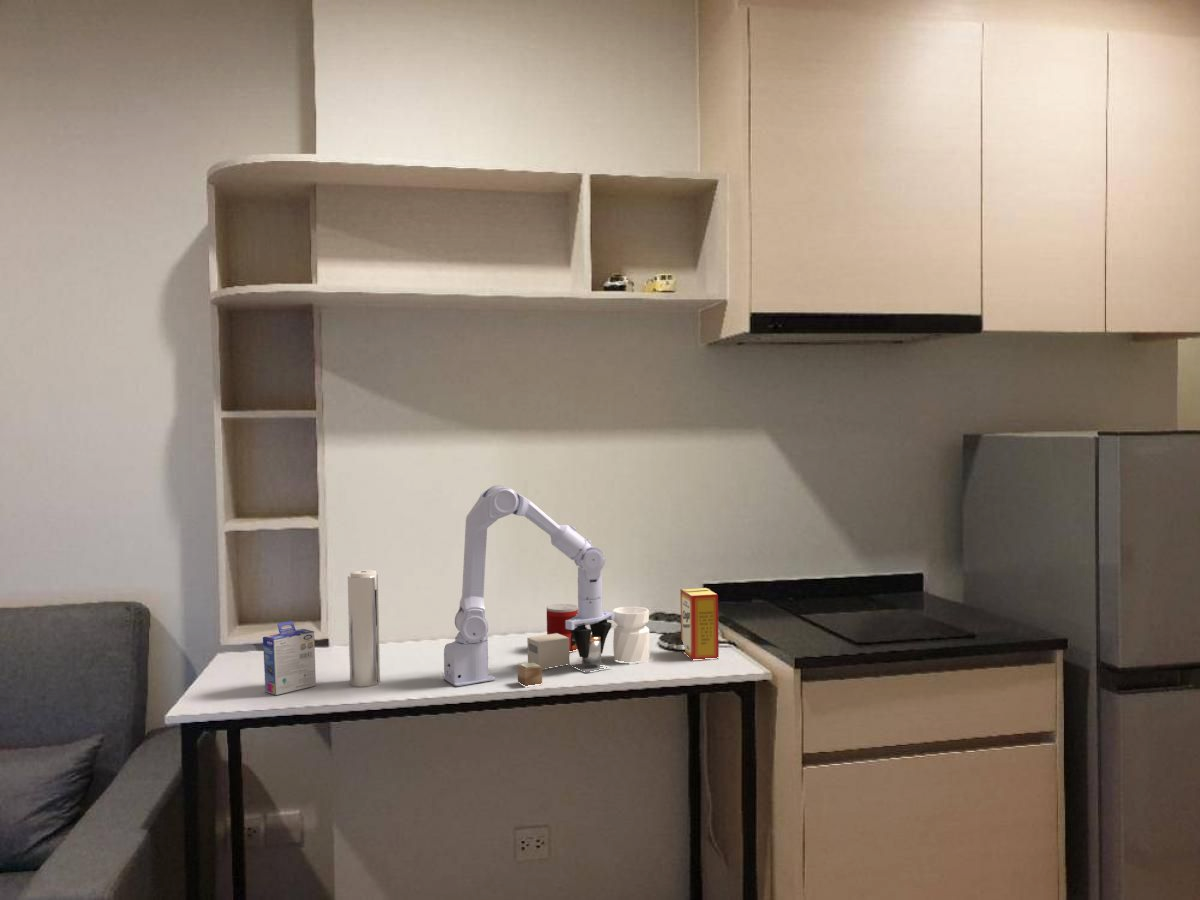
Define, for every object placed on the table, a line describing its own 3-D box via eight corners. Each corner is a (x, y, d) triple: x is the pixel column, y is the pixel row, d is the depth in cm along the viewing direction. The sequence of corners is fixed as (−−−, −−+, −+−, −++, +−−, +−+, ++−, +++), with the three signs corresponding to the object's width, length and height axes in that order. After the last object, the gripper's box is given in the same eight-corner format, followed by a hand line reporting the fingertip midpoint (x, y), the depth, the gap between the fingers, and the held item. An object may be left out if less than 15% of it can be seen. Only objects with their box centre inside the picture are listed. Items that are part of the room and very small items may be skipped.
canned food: (578, 653, 222) (577, 609, 222) (546, 653, 222) (545, 610, 222) (578, 645, 230) (578, 603, 230) (547, 646, 230) (547, 604, 230)
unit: (538, 670, 207) (538, 642, 207) (527, 664, 212) (526, 637, 212) (570, 665, 211) (570, 637, 211) (558, 659, 216) (558, 633, 216)
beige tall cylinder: (368, 677, 203) (366, 568, 203) (386, 682, 199) (383, 570, 199) (344, 683, 198) (341, 571, 198) (361, 688, 194) (359, 574, 193)
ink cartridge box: (304, 681, 201) (303, 617, 200) (317, 686, 197) (316, 620, 197) (262, 691, 193) (261, 625, 193) (275, 696, 190) (274, 628, 189)
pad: (586, 673, 203) (585, 671, 203) (570, 666, 209) (570, 665, 209) (611, 668, 207) (611, 667, 207) (596, 662, 213) (596, 660, 213)
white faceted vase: (631, 666, 209) (630, 615, 209) (606, 659, 216) (605, 610, 215) (657, 659, 215) (656, 610, 215) (632, 653, 222) (631, 605, 221)
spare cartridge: (592, 665, 205) (592, 639, 205) (578, 662, 208) (577, 636, 208) (604, 661, 208) (604, 636, 208) (590, 658, 211) (590, 633, 211)
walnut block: (525, 688, 193) (525, 668, 193) (518, 683, 197) (517, 664, 197) (542, 685, 195) (541, 665, 195) (534, 680, 199) (534, 661, 198)
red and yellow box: (718, 659, 215) (717, 592, 214) (692, 660, 213) (691, 594, 213) (706, 649, 224) (705, 586, 224) (681, 651, 223) (680, 587, 222)
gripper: (598, 590, 216) (599, 646, 216) (555, 599, 205) (556, 658, 206) (620, 594, 211) (621, 651, 211) (577, 603, 201) (578, 663, 201)
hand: (591, 655), depth 208 cm, fingers closed on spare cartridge, 4 cm apart
